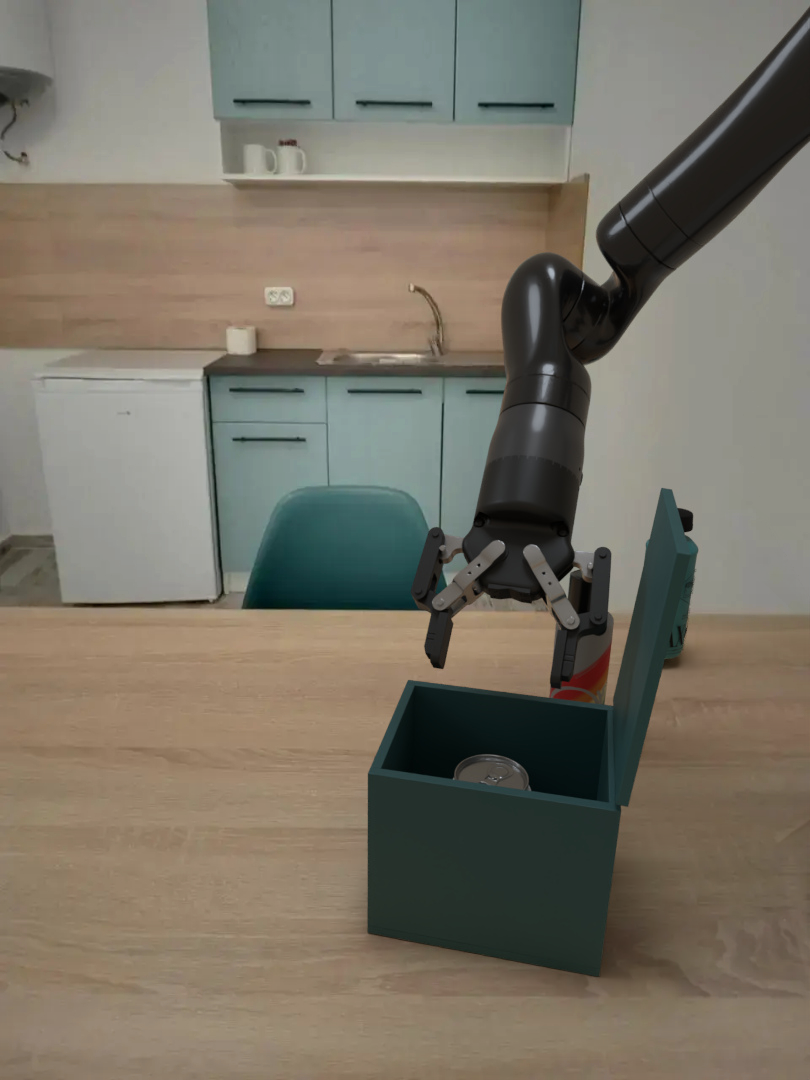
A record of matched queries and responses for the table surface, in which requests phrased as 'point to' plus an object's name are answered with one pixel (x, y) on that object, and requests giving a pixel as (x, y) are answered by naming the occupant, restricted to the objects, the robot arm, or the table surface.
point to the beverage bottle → (683, 590)
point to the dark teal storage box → (494, 827)
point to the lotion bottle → (586, 652)
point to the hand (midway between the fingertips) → (495, 675)
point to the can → (493, 771)
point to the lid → (648, 640)
